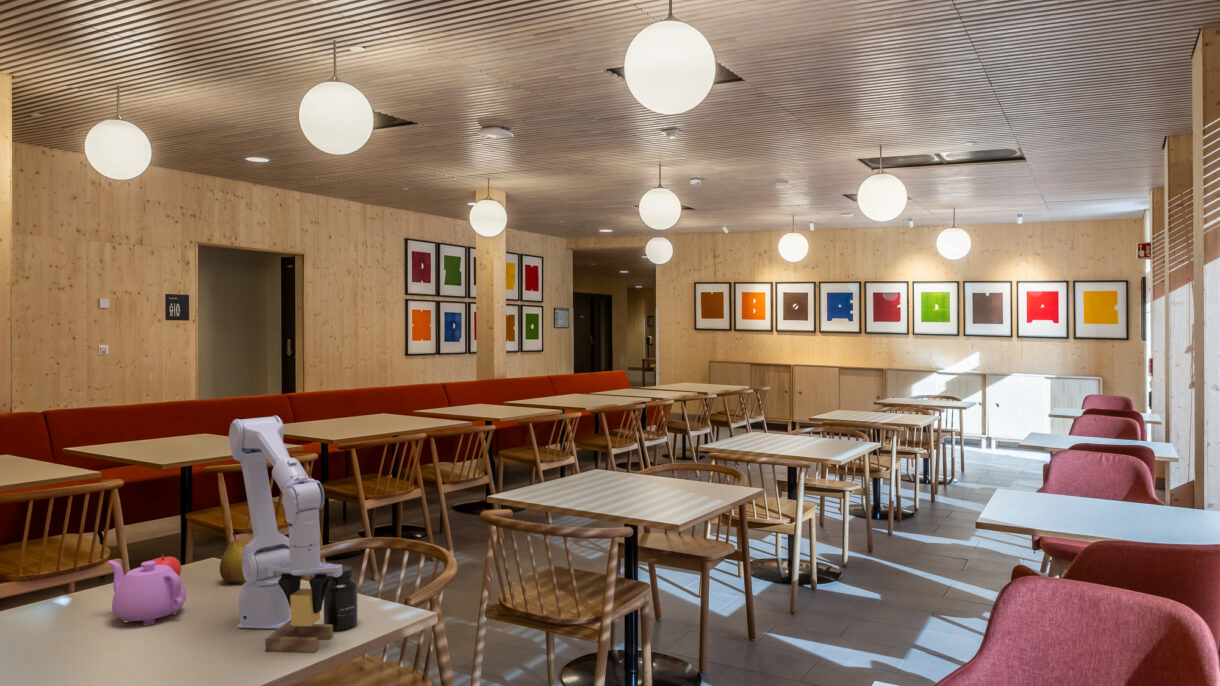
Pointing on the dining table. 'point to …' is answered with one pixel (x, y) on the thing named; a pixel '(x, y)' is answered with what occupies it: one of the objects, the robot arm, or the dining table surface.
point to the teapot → (146, 592)
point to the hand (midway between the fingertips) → (306, 611)
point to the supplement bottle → (341, 601)
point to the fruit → (233, 562)
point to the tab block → (303, 608)
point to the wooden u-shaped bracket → (298, 638)
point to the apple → (169, 563)
